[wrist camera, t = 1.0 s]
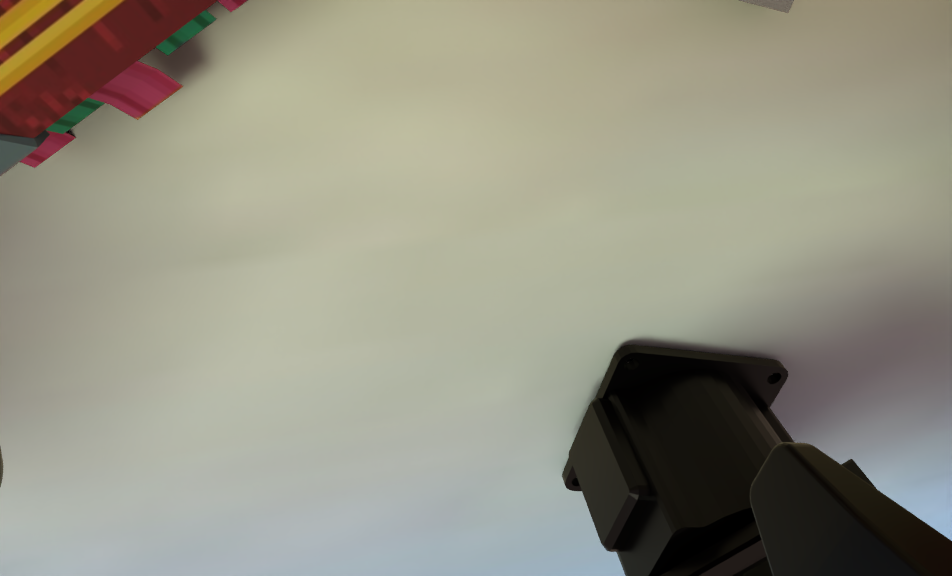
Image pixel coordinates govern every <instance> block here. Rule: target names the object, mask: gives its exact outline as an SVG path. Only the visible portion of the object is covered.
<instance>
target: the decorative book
mask: <svg viewBox="0 0 952 576" xmlns="http://www.w3.org/2000/svg"><path fill="white" fill-rule="evenodd" d="M216 1H219V2H220V3H221V4H222V5H223V6H224V7H226V8H227V9H228V10H229V11H230V12H232V11H233V10H235V9H237V8H238V7H239V6H241V5H242V4H243V3H245V2H246V1H247V0H0V176H1V175H3V174H4V173H5V172H7V171H8V170H9V169H11V168H12V167H13V166H15V165H16V164H17V163H18V162H22V163H24V164H27V165H29V166H32V167H34V168H35V167H37V166H38V165H39V164H41V163H42V162H43V161H45V160H46V159H47V158H49V157H50V156H51V155H53V154H54V153H56V152H57V151H58V150H60V149H61V148H62V147H64V146H65V145H66V144H68V143H69V142H70V141H72V140H73V139H75V138H76V137H74V136H72V135H70V134H68V133H66V132H67V131H68V130H69V129H71V128H72V127H73V126H75V125H76V124H77V123H79V122H80V121H81V120H83V119H84V118H85V117H87V116H88V115H89V114H91V113H92V112H93V111H95V110H96V109H97V108H99V107H100V106H102V105H103V104H104V103H107V104H110V105H112V106H114V107H116V108H118V109H119V110H121V111H123V112H125V113H126V114H128V115H130V116H132V117H134V118H135V119H137V120H138V119H139V118H141V117H142V116H143V115H145V114H146V113H148V112H149V111H150V110H152V109H153V108H154V107H156V106H157V105H158V104H160V103H161V102H163V101H164V100H165V99H167V98H168V97H169V96H171V95H172V94H174V93H175V92H176V91H178V90H179V89H180V88H182V87H183V86H182V85H180V84H179V83H177V82H176V81H174V80H173V79H171V78H170V77H169V76H167V75H166V74H164V73H163V72H161V71H160V70H158V69H156V68H153V67H151V66H148V65H146V64H144V63H141V62H139V61H138V60H139V59H140V58H142V57H143V56H144V55H146V54H147V53H148V52H150V51H151V50H152V49H154V48H155V47H156V48H157V49H159V50H160V51H162V52H163V53H165V54H166V55H169V54H171V53H172V52H173V51H175V50H176V49H177V48H179V47H180V46H181V45H183V44H184V43H185V42H187V41H188V40H189V39H191V38H192V37H193V36H195V35H196V34H197V33H199V32H200V31H202V30H203V29H204V28H206V27H207V26H208V25H210V24H211V23H212V22H214V21H215V20H216V18H215V17H214V16H212V15H211V14H210V13H209V12H208V11H206V9H207V8H208V7H210V6H211V5H212V4H214V3H215V2H216Z"/></svg>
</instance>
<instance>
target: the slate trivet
mask: <svg viewBox="0 0 952 576" xmlns="http://www.w3.org/2000/svg"><path fill="white" fill-rule="evenodd" d="M740 1H744V2H747V3H751V4H755V5H759V6H763V7H767V8H770V9H774V10H778V11H782V12H786V13H788V12H789V10H790V8H791V6H792V3H793V1H794V0H740Z"/></svg>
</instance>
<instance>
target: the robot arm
mask: <svg viewBox="0 0 952 576" xmlns="http://www.w3.org/2000/svg"><path fill="white" fill-rule="evenodd" d="M633 358H634V359H633ZM629 359H633V360H632V361H630V362H628V363H626V361H627V360H629ZM771 374H772V375H771ZM787 377H788V371H787V370H786V369H785V368H784V366H783V365H782V364H781V363H780V362H779V361H777V360H772V359H762V358H753V357H743V356H734V355H724V354H715V353H706V352H696V351H687V350H677V349H668V348H658V347H649V346H639V345H627V346H624V347H622V348H620V349H619V350H618V351H617V352H616V353H615V355H614V356H613V359H612V361H611V363H610V366H609V368H608V370H607V372H606V375H605V377H604V379H603V382H602V384H601V386H600V388H599V391H598V393H597V395H596V398H595V399H594V400H593V401H592V402H591V403H590V405H589V408H588V410H587V412H586V414H585V417H584V419H583V421H582V424H581V426H580V428H579V431H578V433H577V435H576V437H575V440H574V442H573V444H572V447H571V449H570V451H569V459H568V462H567V464H566V466H565V468H564V471H563V474H562V477H563V480H564V483H565V486H566V488H567V489H569V490H572V491H582V492H583V495H584V498H585V500H586V503H587V506H588V508H589V511H590V514H591V517H592V519H593V522H594V525H595V527H596V530H597V533H598V536H599V538H600V541H601V544H602V545H603V546H604V548H605V549H606V550H607V551H610V552H617V554H618V557H619V559H620V562H621V565H622V567H623V570H624V572H625V575H626V576H952V541H951V540H949V539H948V538H947V537H945V536H944V535H942V534H941V533H939V532H938V531H936V530H935V529H933V528H932V527H931V526H929V525H928V524H926V523H925V522H923V521H922V520H920V519H919V518H917V517H916V516H915V515H913V514H912V513H910V512H909V511H907V510H906V509H904V508H903V507H901V506H900V505H899V504H897V503H896V502H894V501H893V500H891V499H890V498H888V497H887V496H886V495H884V494H883V493H881V492H880V491H878V490H877V489H876V488H875V486H874V485H873V484H872V483H871V481H870V480H869V479H868V478H867V477H866V475H865V474H864V473H863V472H862V470H861V469H860V468H859V467H858V466H857V464H856V463H855V462H854V461H853V460H852V459H850V460H848V461H847V462H845V463H843V464H839V463H838V462H836V461H835V460H833V459H832V458H830V457H829V456H827V455H826V454H825V453H823V452H822V451H820V450H819V449H817V448H816V447H814V446H812V445H810V444H807V443H795V442H794V441H793V440H792V438H791V437H790V435H789V434H788V433H787V431H786V430H785V428H784V427H783V426H782V424H781V423H780V422H779V420H778V419H777V417H776V416H775V415H774V413H773V412H772V410H771V409H770V406H771V404H772V403H773V401H774V399H775V398H776V396H777V394H778V393H779V391H780V389H781V388H782V386H783V384H784V383H785V381H786V379H787ZM2 477H3V460H2V454H1V448H0V487H1V483H2ZM576 477H577V478H576Z"/></svg>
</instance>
